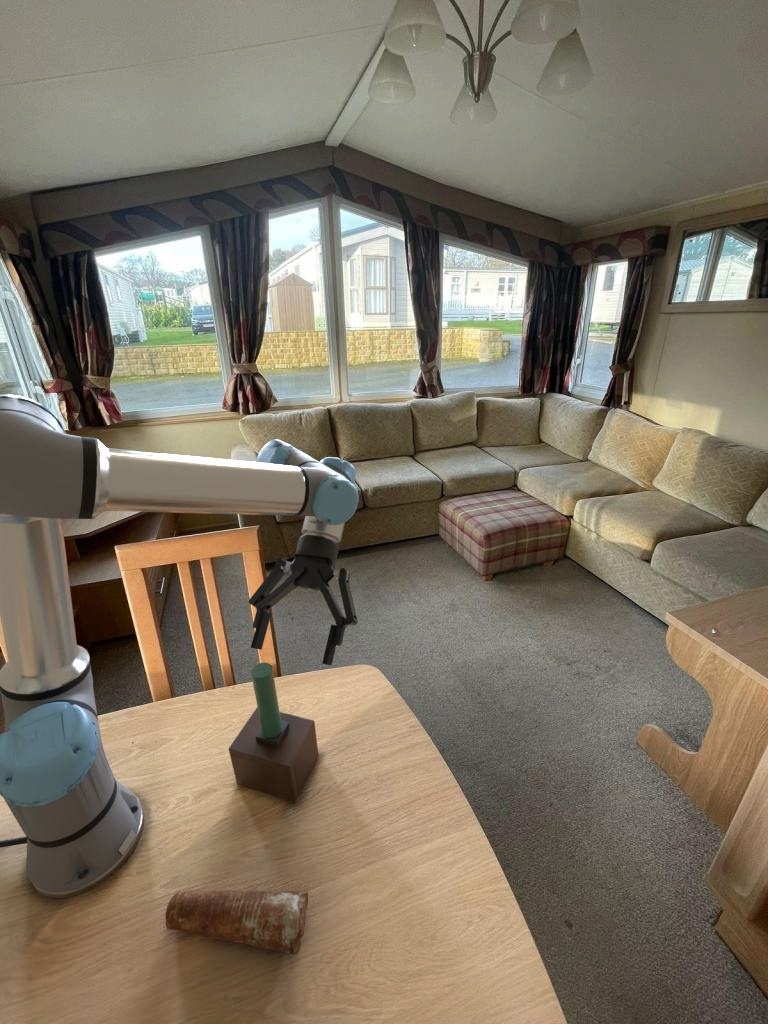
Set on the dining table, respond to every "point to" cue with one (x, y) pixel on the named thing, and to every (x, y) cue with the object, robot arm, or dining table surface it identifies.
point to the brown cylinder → (242, 916)
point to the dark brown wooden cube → (275, 758)
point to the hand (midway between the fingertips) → (290, 656)
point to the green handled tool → (267, 705)
